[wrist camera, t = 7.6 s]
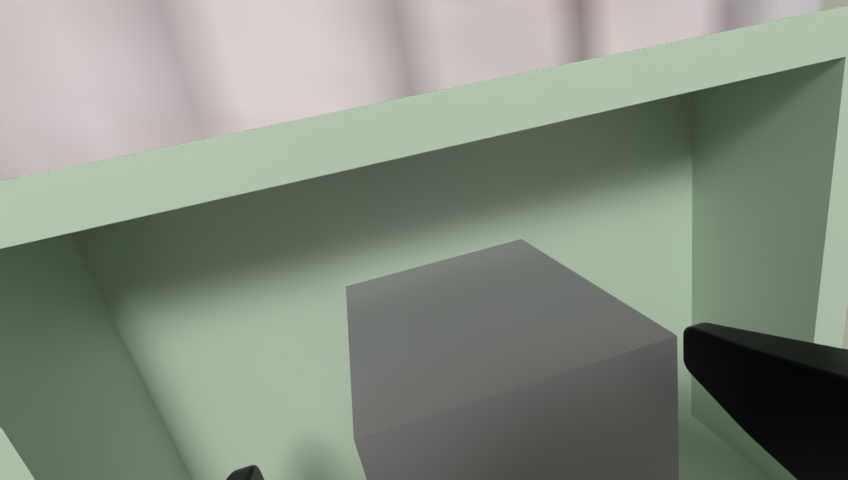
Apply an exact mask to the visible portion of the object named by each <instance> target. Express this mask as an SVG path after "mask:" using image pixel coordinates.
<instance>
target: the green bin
mask: <svg viewBox="0 0 848 480" xmlns="http://www.w3.org/2000/svg"><path fill="white" fill-rule="evenodd" d="M519 239H522V240H524V241H525V242H527V243H529V244H530V245H532V246H533V247H535V248H537V249H538V250H540V251H542V252H543V253H545V254H546V255H548V256H550V257H551V258H553V259H554V260H556V261H558V262H559V263H561V264H562V265H564V266H566V267H567V268H569V269H571V270H572V271H574V272H575V273H577V274H579V275H580V276H582V277H583V278H585V279H587V280H588V281H590V282H591V283H593V284H595V285H596V286H598V287H600V288H601V289H603V290H604V291H606V292H608V293H609V294H611V295H612V296H614V297H616V298H617V299H619V300H620V301H622V302H624V303H625V304H627V305H629V306H630V307H632V308H633V309H635V310H637V311H638V312H640V313H641V314H643V315H645V316H646V317H648V318H649V319H651V320H653V321H654V322H656V323H658V324H659V325H661V326H662V327H664V328H666V329H667V330H669V331H670V332H672V333H674V334H675V335H677V359H678V440H679V480H797V479H796V478H795V477H794V476H793V475H792V474H790V473H789V472H788V471H787V470H786V469H785V468H784V467H783V466H782V465H781V464H779V463H778V462H777V461H776V460H775V459H774V458H773V457H772V456H771V455H770V454H769V453H767V452H766V451H765V450H764V449H763V448H762V447H761V446H760V445H759V444H758V443H756V442H755V441H754V440H753V439H752V438H751V437H750V436H749V435H748V434H747V433H746V432H745V431H744V430H743V429H742V428H741V427H740V426H739V425H738V424H737V423H736V422H735V421H734V420H733V419H732V418H731V416H730V415H729V414H728V413H727V412H726V411H725V410H724V409H723V408H722V407H721V406H720V405H719V404H718V403H717V401H716V400H715V399H714V398H713V397H712V396H711V395H710V394H709V393H708V392H707V391H706V390H705V389H704V388H703V386H702V385H701V384H700V383H699V382H698V381H697V380H696V379H695V378H694V377H693V376H692V375H691V374H690V372H689V371H688V370H687V368H686V366H685V364H684V361H683V332H684V330H685V328H687V327H688V326H692V325H695V324H698V323H702V322H707V323H712V324H717V325H722V326H728V327H733V328H738V329H743V330H749V331H754V332H759V333H764V334H769V335H775V336H780V337H785V338H790V339H795V340H801V341H806V342H811V343H816V344H821V345H827V346H832V347H837V348H842V344H843V337H844V329H845V322H846V314H847V308H848V6H845V7H840V8H835V9H831V10H826V11H821V12H816V13H811V14H806V15H801V16H797V17H792V18H787V19H782V20H777V21H772V22H768V23H763V24H758V25H753V26H748V27H744V28H739V29H734V30H729V31H724V32H719V33H715V34H710V35H705V36H700V37H695V38H690V39H686V40H681V41H676V42H671V43H666V44H662V45H657V46H652V47H647V48H642V49H637V50H633V51H628V52H623V53H618V54H613V55H608V56H604V57H599V58H594V59H589V60H584V61H579V62H575V63H570V64H565V65H560V66H555V67H551V68H546V69H541V70H536V71H531V72H526V73H522V74H517V75H512V76H507V77H502V78H497V79H493V80H488V81H483V82H478V83H473V84H468V85H464V86H459V87H454V88H449V89H444V90H440V91H435V92H430V93H425V94H420V95H415V96H411V97H406V98H401V99H396V100H391V101H386V102H382V103H377V104H372V105H367V106H362V107H357V108H353V109H348V110H343V111H338V112H333V113H329V114H324V115H319V116H314V117H309V118H304V119H300V120H295V121H290V122H285V123H280V124H275V125H271V126H266V127H261V128H256V129H251V130H247V131H242V132H237V133H232V134H227V135H222V136H218V137H213V138H208V139H203V140H198V141H193V142H189V143H184V144H179V145H174V146H169V147H164V148H160V149H155V150H150V151H145V152H140V153H136V154H131V155H126V156H121V157H116V158H111V159H107V160H102V161H97V162H92V163H87V164H82V165H78V166H73V167H68V168H63V169H58V170H53V171H49V172H44V173H39V174H34V175H29V176H25V177H20V178H15V179H10V180H5V181H0V480H226V479H227V477H228V476H229V475H230V474H231V473H232V472H233V471H235V470H237V469H240V468H243V467H247V466H250V465H257V466H258V467H259V469H260V471H261V473H262V476H263V478H264V480H367V479H366V476H365V473H364V470H363V467H362V464H361V461H360V457H359V454H358V451H357V448H356V445H355V442H354V434H353V415H352V395H351V376H350V357H349V338H348V319H347V300H346V286H349V285H353V284H357V283H360V282H364V281H368V280H371V279H375V278H379V277H382V276H386V275H390V274H394V273H397V272H401V271H405V270H408V269H412V268H416V267H419V266H423V265H427V264H430V263H434V262H438V261H442V260H445V259H449V258H453V257H456V256H460V255H464V254H467V253H471V252H475V251H478V250H482V249H486V248H490V247H493V246H497V245H501V244H504V243H508V242H512V241H515V240H519Z"/></svg>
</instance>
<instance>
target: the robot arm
mask: <svg viewBox="0 0 848 480" xmlns="http://www.w3.org/2000/svg"><path fill="white" fill-rule="evenodd" d="M683 361H684V364H685V366H686V368H687V370H688V371H689V372H690V374H691V375H692V376H693V377H694V378H695V379H696V380H697V381H698V382H699V383H700V384H701V385H702V386H703V388H704V389H705V390H706V391H707V392H708V393H709V394H710V395H711V396H712V397H713V398H714V399H715V400H716V401H717V403H718V404H719V405H720V406H721V407H722V408H723V409H724V410H725V411H726V412H727V413H728V414H729V415H730V416H731V418H732V419H733V420H734V421H735V422H736V423H737V424H738V425H739V426H740V427H741V428H742V429H743V430H744V431H745V432H746V433H747V434H748V435H749V436H750V437H751V438H752V439H753V440H754V441H755V442H756V443H758V444H759V445H760V446H761V447H762V448H763V449H764V450H765V451H766V452H767V453H769V454H770V455H771V456H772V457H773V458H774V459H775V460H776V461H777V462H778V463H779V464H781V465H782V466H783V467H784V468H785V469H786V470H787V471H788V472H789V473H790V474H792V475H793V476H794V477H795V478H796V479H797V480H848V349H842V348H837V347H832V346H827V345H821V344H816V343H811V342H806V341H801V340H795V339H790V338H785V337H780V336H775V335H769V334H764V333H759V332H754V331H749V330H743V329H738V328H733V327H728V326H722V325H717V324H712V323H707V322H702V323H698V324H695V325H692V326H688V327H687V328H685V330H684V332H683ZM226 480H264V478H263V476H262V473H261V471H260V469H259V467H258V466H257V465H250V466H247V467H243V468H240V469H237V470H235V471H233V472H232V473H231V474H230V475H229V476H228V477H227V479H226Z"/></svg>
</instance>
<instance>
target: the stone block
mask: <svg viewBox="0 0 848 480" xmlns="http://www.w3.org/2000/svg"><path fill="white" fill-rule="evenodd" d="M346 300H347V319H348V338H349V357H350V376H351V395H352V415H353V434H354V442H355V445H356V448H357V451H358V454H359V457H360V461H361V464H362V467H363V470H364V473H365V476H366V479H367V480H679V440H678V359H677V335H675V334H674V333H672V332H670V331H669V330H667V329H666V328H664V327H662V326H661V325H659V324H658V323H656V322H654V321H653V320H651V319H649V318H648V317H646V316H645V315H643V314H641V313H640V312H638V311H637V310H635V309H633V308H632V307H630V306H629V305H627V304H625V303H624V302H622V301H620V300H619V299H617V298H616V297H614V296H612V295H611V294H609V293H608V292H606V291H604V290H603V289H601V288H600V287H598V286H596V285H595V284H593V283H591V282H590V281H588V280H587V279H585V278H583V277H582V276H580V275H579V274H577V273H575V272H574V271H572V270H571V269H569V268H567V267H566V266H564V265H562V264H561V263H559V262H558V261H556V260H554V259H553V258H551V257H550V256H548V255H546V254H545V253H543V252H542V251H540V250H538V249H537V248H535V247H533V246H532V245H530V244H529V243H527V242H525V241H524V240H522V239H519V240H515V241H512V242H508V243H504V244H501V245H497V246H493V247H490V248H486V249H482V250H478V251H475V252H471V253H467V254H464V255H460V256H456V257H453V258H449V259H445V260H442V261H438V262H434V263H430V264H427V265H423V266H419V267H416V268H412V269H408V270H405V271H401V272H397V273H394V274H390V275H386V276H382V277H379V278H375V279H371V280H368V281H364V282H360V283H357V284H353V285H349V286H346Z"/></svg>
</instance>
